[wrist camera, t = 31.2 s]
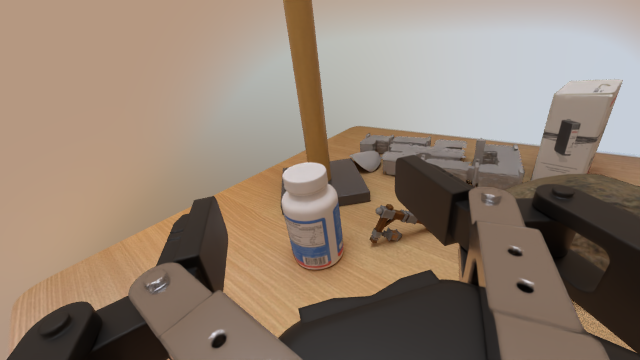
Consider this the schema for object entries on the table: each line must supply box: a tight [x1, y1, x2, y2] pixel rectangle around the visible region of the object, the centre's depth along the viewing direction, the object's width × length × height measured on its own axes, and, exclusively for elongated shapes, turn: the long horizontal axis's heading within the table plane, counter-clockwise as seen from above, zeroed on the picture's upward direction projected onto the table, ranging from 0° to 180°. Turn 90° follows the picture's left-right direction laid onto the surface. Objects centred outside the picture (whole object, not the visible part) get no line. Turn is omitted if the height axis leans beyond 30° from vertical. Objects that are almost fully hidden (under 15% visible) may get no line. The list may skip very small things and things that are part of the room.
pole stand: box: [281, 158, 370, 215], centre depth 40 cm, size 12×12×2 cm
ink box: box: [531, 80, 623, 181], centre depth 33 cm, size 8×5×12 cm, turn 132°
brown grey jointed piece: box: [370, 204, 422, 243], centre depth 28 cm, size 2×8×4 cm, turn 105°
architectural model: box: [349, 133, 525, 190], centre depth 42 cm, size 12×25×5 cm, turn 61°
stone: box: [504, 174, 640, 271], centre depth 21 cm, size 17×9×8 cm, turn 72°
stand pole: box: [283, 0, 331, 181], centre depth 34 cm, size 3×3×27 cm
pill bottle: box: [282, 162, 343, 270], centre depth 26 cm, size 6×5×10 cm
